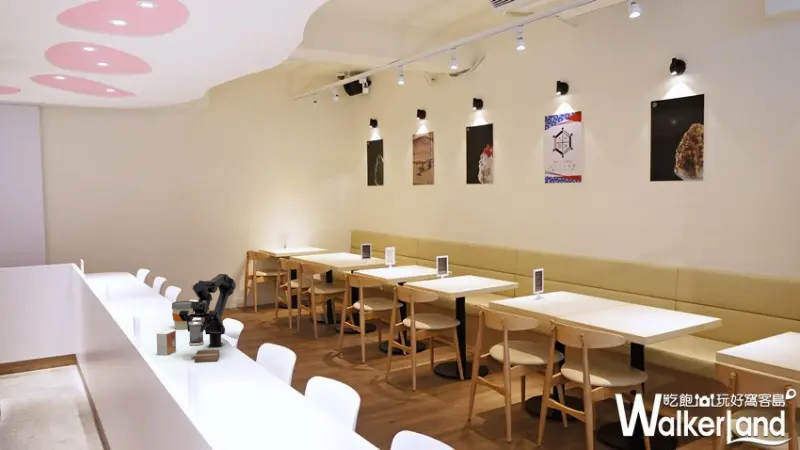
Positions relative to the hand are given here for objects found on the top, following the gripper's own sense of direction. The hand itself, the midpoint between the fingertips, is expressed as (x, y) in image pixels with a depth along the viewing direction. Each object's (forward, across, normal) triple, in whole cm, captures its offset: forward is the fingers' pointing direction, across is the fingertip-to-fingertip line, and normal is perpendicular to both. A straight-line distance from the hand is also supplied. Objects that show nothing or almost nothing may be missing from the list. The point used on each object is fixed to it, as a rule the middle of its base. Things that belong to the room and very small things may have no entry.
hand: (195, 331), depth 278 cm
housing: (+4, 0, +6) cm, 7 cm away
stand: (+9, +6, +10) cm, 14 cm away
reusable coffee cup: (-33, -33, +54) cm, 72 cm away
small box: (+3, -19, +16) cm, 25 cm away
